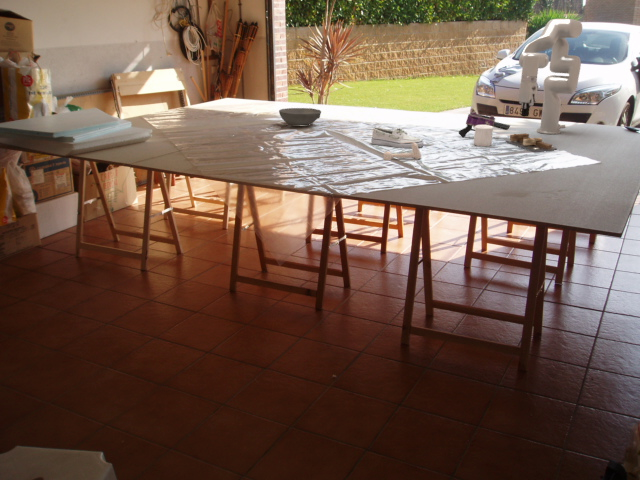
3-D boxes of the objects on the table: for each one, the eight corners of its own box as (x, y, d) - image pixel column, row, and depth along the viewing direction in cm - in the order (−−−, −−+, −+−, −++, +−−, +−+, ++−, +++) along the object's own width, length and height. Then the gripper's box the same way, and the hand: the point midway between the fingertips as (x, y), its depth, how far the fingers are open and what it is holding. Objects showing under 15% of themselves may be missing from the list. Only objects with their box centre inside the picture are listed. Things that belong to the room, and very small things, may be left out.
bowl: (278, 122, 383) (278, 107, 379) (318, 121, 385) (318, 106, 382) (280, 130, 359) (279, 114, 355) (323, 128, 361) (323, 112, 358)
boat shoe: (420, 149, 304) (421, 131, 300) (367, 146, 314) (367, 128, 311) (425, 145, 313) (426, 127, 309) (373, 142, 323) (373, 124, 320)
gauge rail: (523, 140, 318) (524, 132, 317) (553, 150, 295) (554, 141, 293) (507, 142, 316) (508, 133, 314) (536, 152, 293) (537, 143, 291)
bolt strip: (526, 140, 319) (526, 138, 318) (557, 150, 296) (557, 148, 295) (505, 142, 316) (505, 140, 315) (534, 152, 292) (534, 150, 292)
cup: (481, 147, 305) (483, 128, 301) (468, 144, 313) (470, 125, 310) (495, 145, 309) (497, 126, 306) (482, 142, 317) (484, 124, 314)
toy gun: (503, 147, 326) (512, 121, 320) (457, 136, 329) (465, 110, 323) (502, 146, 329) (511, 120, 323) (457, 135, 332) (465, 109, 326)
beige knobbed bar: (386, 168, 288) (380, 149, 285) (420, 155, 286) (414, 136, 283) (387, 170, 285) (381, 151, 281) (422, 157, 283) (416, 138, 279)
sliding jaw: (538, 143, 306) (539, 136, 305) (542, 144, 303) (542, 137, 302) (522, 144, 303) (523, 138, 302) (525, 145, 301) (526, 139, 299)
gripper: (544, 80, 291) (539, 118, 298) (526, 78, 305) (522, 113, 311) (531, 81, 289) (527, 118, 296) (514, 78, 303) (510, 114, 309)
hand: (524, 116), depth 303 cm, fingers closed
